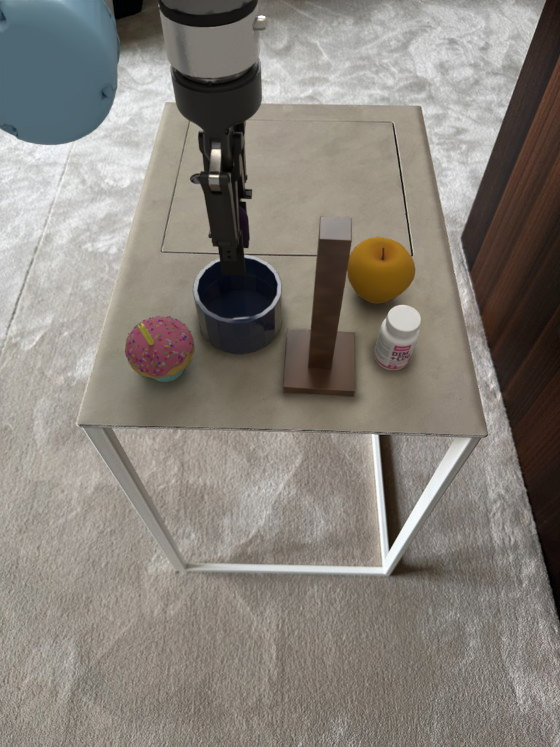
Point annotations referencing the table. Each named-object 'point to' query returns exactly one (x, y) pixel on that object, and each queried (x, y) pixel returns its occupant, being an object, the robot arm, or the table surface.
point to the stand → (324, 323)
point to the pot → (239, 306)
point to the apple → (380, 269)
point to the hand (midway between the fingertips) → (235, 258)
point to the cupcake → (160, 348)
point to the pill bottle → (397, 337)
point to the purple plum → (244, 225)
